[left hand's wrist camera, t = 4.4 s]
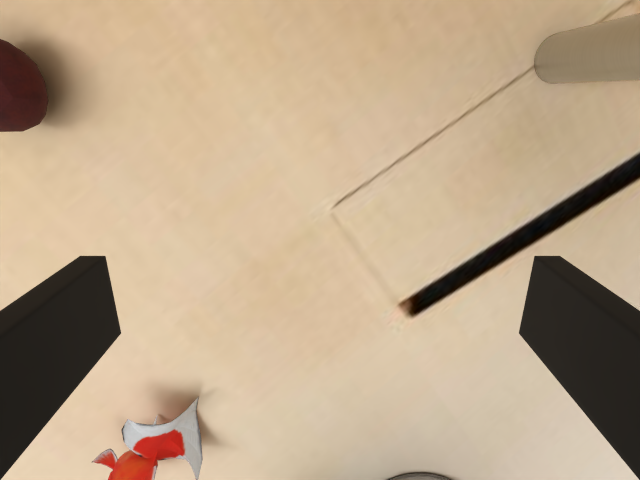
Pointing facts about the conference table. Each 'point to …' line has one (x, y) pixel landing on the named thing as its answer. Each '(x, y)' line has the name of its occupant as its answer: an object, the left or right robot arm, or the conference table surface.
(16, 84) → the dark red ball
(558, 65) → the jar
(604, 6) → the conference table surface
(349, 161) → the conference table surface
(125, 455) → the fish
